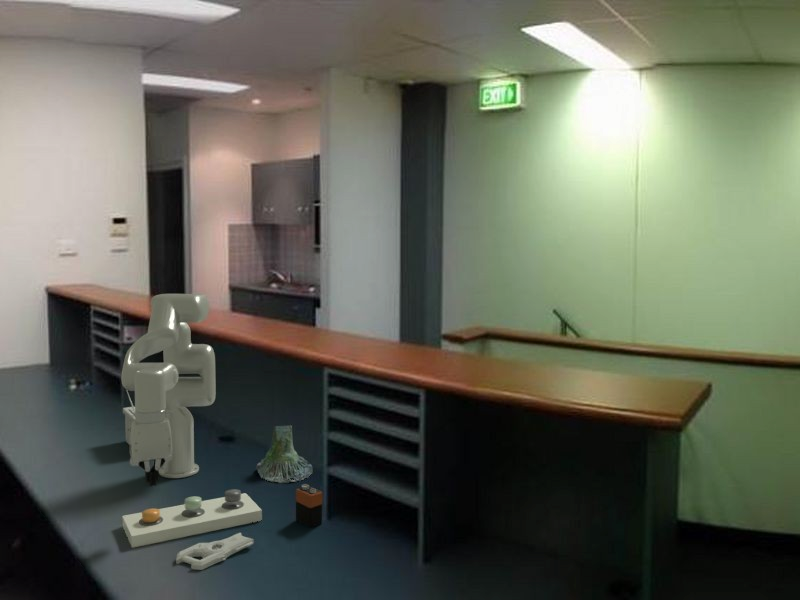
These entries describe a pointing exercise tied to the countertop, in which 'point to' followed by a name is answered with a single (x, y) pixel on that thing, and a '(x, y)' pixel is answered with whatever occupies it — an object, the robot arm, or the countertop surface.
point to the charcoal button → (232, 495)
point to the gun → (213, 551)
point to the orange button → (150, 515)
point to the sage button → (193, 503)
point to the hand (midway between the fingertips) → (152, 484)
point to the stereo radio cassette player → (129, 419)
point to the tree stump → (283, 459)
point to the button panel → (191, 520)
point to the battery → (308, 506)
